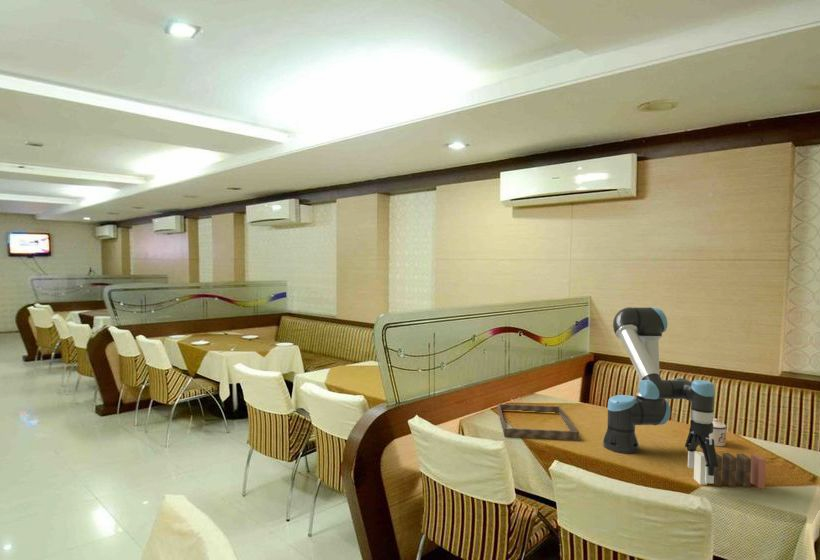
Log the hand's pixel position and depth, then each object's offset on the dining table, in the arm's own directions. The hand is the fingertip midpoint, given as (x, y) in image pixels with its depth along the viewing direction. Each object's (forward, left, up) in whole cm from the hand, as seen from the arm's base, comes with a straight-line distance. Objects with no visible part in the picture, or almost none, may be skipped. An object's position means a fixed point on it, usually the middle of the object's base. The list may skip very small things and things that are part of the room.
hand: (700, 475), depth 183 cm
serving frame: (-54, +60, -3) cm, 81 cm away
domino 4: (+16, 0, -3) cm, 16 cm away
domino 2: (+5, 0, -3) cm, 6 cm away
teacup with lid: (+29, +46, -3) cm, 54 cm away
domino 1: (0, 0, -3) cm, 3 cm away
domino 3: (+10, 0, -3) cm, 11 cm away
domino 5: (+21, 0, -3) cm, 21 cm away
